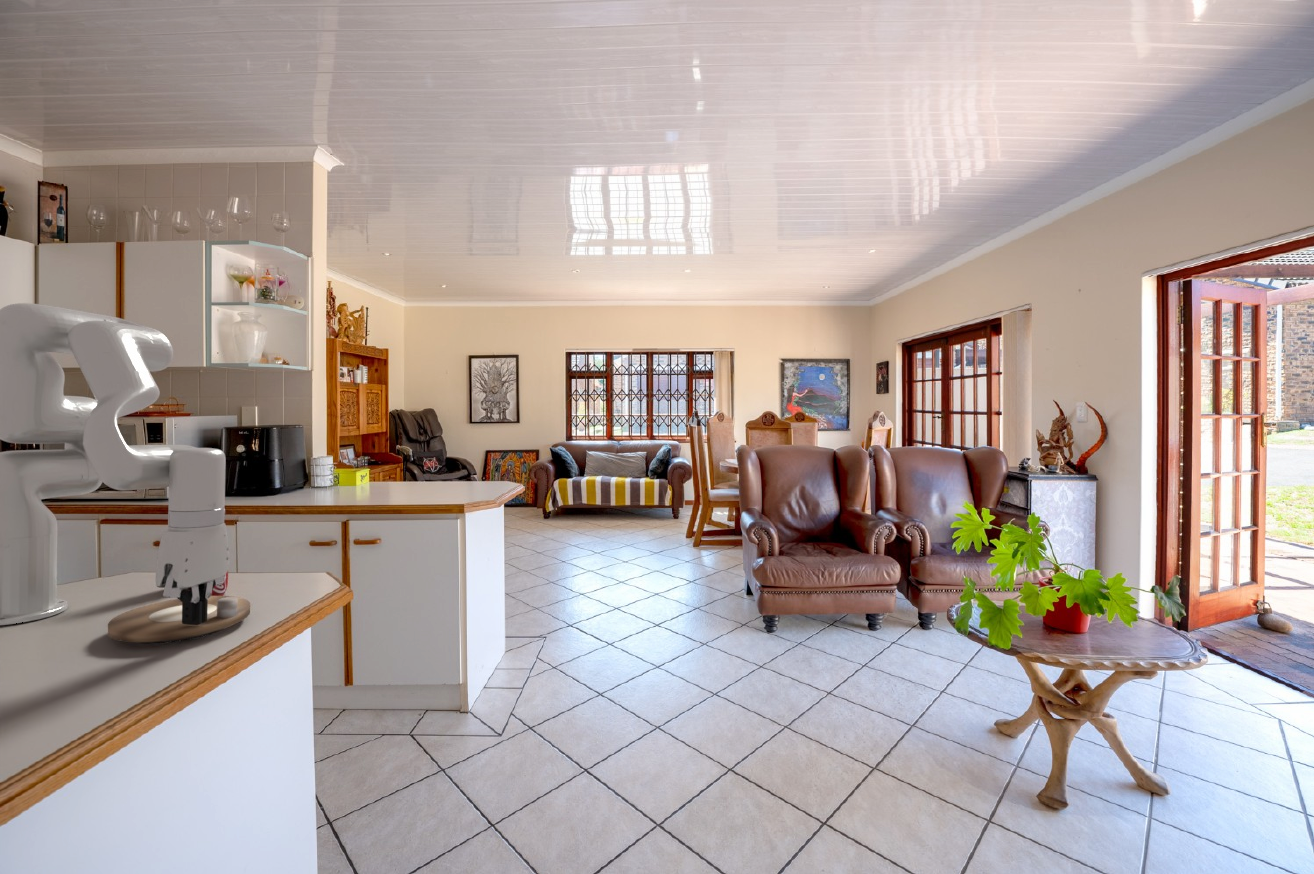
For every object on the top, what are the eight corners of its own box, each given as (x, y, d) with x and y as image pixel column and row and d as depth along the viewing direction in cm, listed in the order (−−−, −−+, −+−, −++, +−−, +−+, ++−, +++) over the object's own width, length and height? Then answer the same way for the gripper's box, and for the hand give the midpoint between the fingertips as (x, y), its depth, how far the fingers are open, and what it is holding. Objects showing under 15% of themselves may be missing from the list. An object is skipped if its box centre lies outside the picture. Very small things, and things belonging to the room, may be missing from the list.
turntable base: (108, 640, 96) (108, 634, 96) (182, 613, 110) (182, 607, 110) (184, 646, 95) (184, 639, 95) (249, 617, 109) (249, 611, 109)
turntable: (73, 637, 93) (73, 611, 93) (181, 600, 113) (182, 578, 113) (185, 645, 92) (186, 619, 92) (275, 606, 112) (275, 584, 112)
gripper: (213, 510, 104) (211, 607, 104) (133, 525, 89) (131, 638, 89) (251, 513, 103) (249, 609, 104) (177, 528, 88) (174, 641, 89)
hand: (194, 622), depth 96 cm, fingers closed
